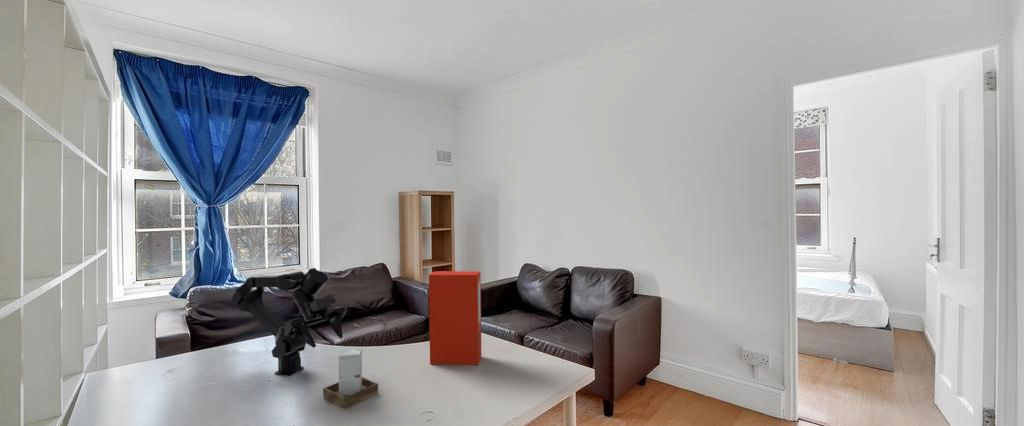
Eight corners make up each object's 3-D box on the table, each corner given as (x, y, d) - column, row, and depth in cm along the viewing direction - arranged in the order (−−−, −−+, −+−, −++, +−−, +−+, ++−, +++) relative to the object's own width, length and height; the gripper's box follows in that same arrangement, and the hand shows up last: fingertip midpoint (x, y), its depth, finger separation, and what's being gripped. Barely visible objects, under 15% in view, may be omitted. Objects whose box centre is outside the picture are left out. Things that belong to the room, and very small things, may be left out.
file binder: (436, 355, 147) (434, 270, 146) (481, 356, 146) (480, 270, 145) (430, 364, 139) (428, 275, 138) (478, 365, 138) (476, 275, 137)
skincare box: (338, 396, 115) (337, 356, 114) (341, 389, 119) (340, 350, 119) (360, 394, 116) (359, 354, 116) (362, 387, 121) (362, 348, 120)
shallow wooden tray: (323, 398, 116) (323, 388, 116) (356, 383, 125) (356, 374, 125) (344, 409, 110) (344, 398, 110) (378, 393, 119) (377, 383, 119)
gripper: (288, 294, 119) (310, 336, 114) (342, 282, 135) (364, 319, 129) (275, 316, 123) (295, 357, 118) (329, 302, 139) (350, 338, 134)
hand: (328, 342), depth 125 cm, fingers open, 9 cm apart
